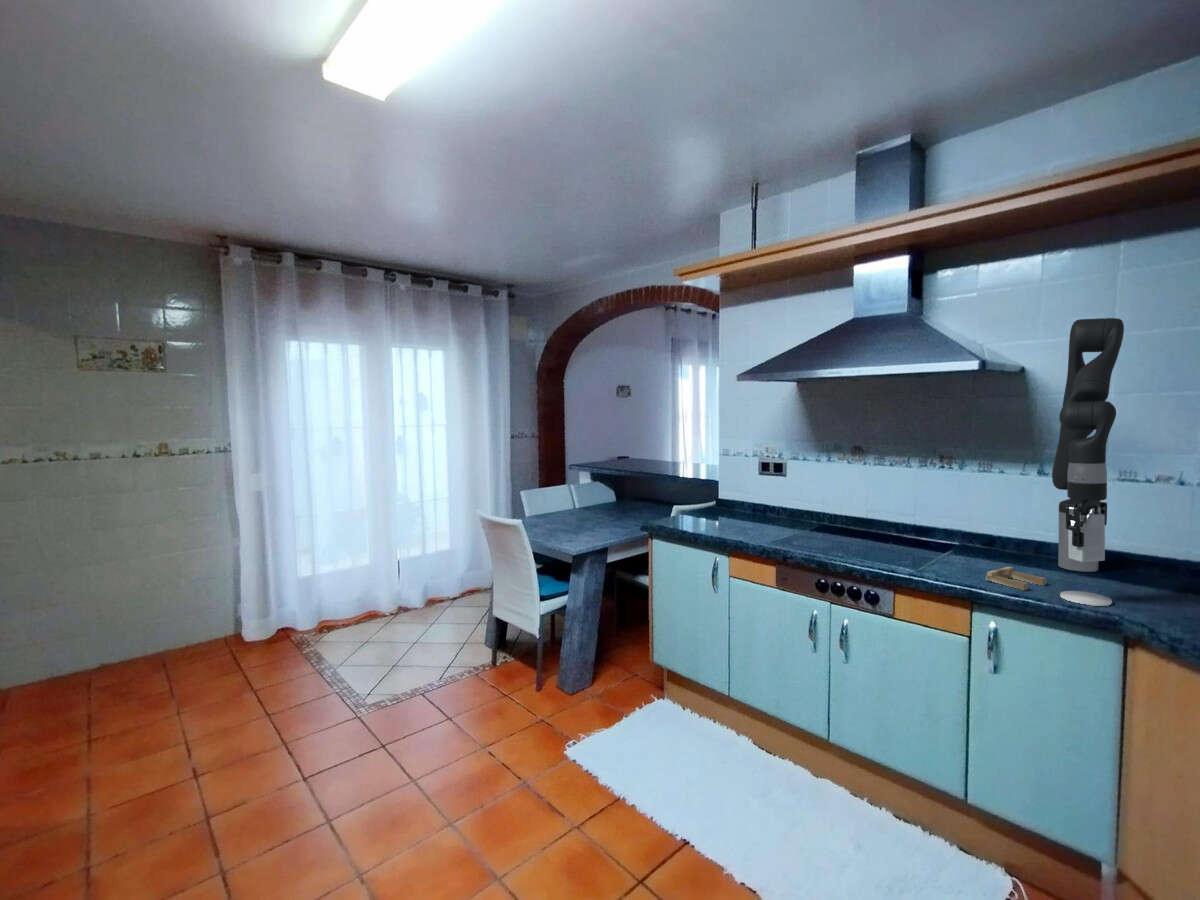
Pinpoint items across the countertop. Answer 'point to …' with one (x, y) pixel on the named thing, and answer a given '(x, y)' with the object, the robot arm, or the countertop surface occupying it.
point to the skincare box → (1090, 541)
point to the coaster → (1086, 598)
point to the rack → (1007, 572)
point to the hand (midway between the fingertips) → (1086, 544)
